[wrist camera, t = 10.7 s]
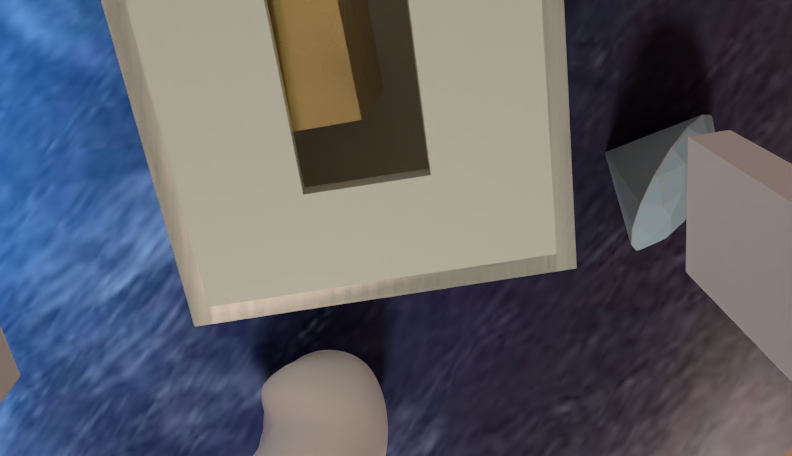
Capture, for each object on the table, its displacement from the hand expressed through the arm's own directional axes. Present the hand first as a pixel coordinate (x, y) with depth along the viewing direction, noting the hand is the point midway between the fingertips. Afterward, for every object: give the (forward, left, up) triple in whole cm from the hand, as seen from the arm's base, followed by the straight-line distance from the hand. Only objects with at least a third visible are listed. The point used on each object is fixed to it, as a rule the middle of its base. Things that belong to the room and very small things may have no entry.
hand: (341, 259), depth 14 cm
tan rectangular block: (0, 0, -23) cm, 23 cm away
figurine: (-5, -20, -25) cm, 32 cm away
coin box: (0, 0, -25) cm, 25 cm away
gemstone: (+15, -9, -25) cm, 31 cm away
